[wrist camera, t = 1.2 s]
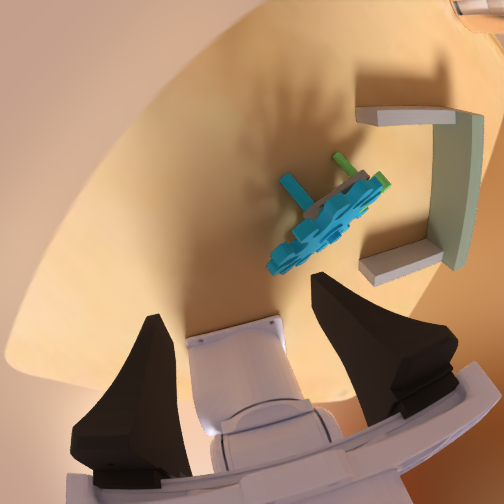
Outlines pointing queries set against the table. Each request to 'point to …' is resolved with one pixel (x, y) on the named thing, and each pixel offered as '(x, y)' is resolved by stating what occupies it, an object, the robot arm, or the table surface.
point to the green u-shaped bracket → (435, 189)
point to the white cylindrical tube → (480, 15)
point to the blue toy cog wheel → (325, 214)
